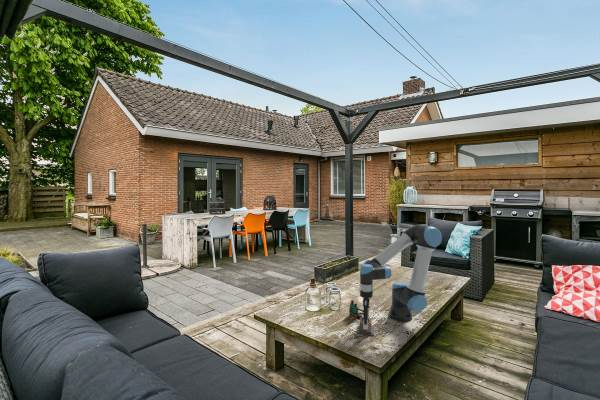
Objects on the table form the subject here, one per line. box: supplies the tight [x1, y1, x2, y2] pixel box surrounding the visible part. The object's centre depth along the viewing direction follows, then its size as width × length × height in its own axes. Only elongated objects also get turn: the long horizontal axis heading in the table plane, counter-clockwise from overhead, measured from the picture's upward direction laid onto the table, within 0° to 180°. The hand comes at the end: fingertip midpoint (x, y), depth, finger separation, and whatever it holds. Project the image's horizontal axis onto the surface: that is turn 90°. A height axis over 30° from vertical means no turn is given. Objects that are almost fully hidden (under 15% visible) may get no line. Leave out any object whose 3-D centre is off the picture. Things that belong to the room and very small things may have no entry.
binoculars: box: [348, 299, 363, 320], centre depth 208 cm, size 9×11×10 cm
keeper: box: [356, 325, 375, 337], centre depth 187 cm, size 10×9×12 cm
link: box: [358, 316, 373, 333], centre depth 188 cm, size 7×7×6 cm
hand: (366, 323), depth 188 cm, fingers open, 13 cm apart
